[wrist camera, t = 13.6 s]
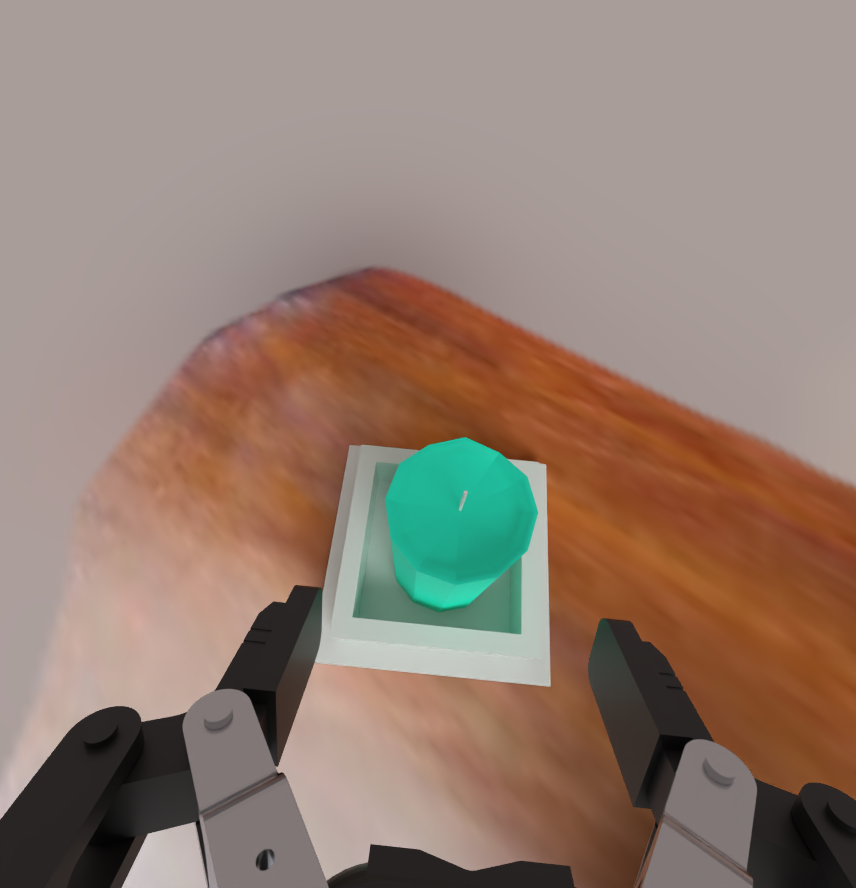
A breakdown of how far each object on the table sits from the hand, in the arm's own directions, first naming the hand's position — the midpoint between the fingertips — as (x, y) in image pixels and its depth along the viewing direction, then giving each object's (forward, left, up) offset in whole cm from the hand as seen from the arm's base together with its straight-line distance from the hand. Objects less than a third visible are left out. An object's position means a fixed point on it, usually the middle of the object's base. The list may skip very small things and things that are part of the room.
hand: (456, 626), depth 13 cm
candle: (0, -5, -14) cm, 14 cm away
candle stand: (0, -5, -15) cm, 15 cm away
